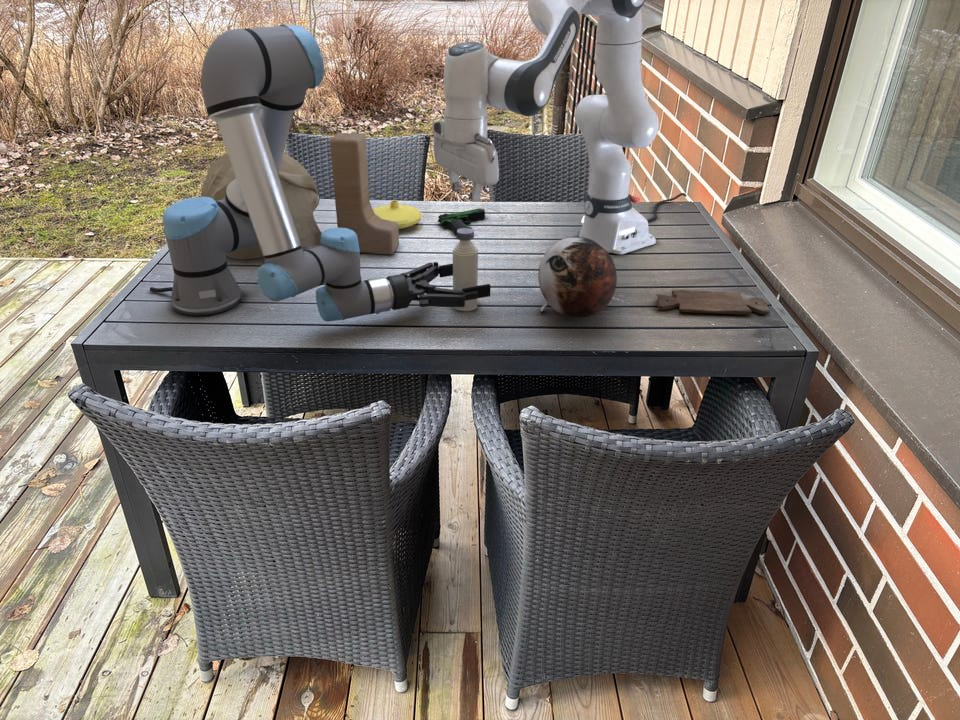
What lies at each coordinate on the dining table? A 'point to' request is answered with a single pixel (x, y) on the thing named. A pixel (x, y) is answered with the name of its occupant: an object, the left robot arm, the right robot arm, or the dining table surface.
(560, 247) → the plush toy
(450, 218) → the handgun
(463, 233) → the cap
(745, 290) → the dining table surface
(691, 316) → the dining table surface
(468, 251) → the bottle
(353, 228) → the decorative block
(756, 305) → the dark wooden board
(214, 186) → the helmet
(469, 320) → the dining table surface
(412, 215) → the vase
